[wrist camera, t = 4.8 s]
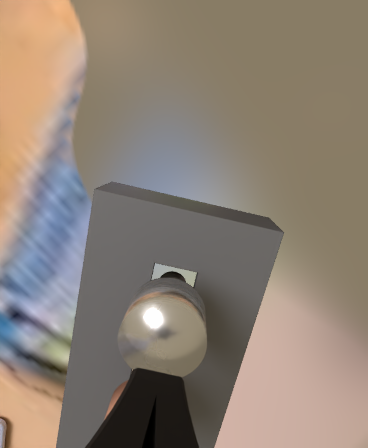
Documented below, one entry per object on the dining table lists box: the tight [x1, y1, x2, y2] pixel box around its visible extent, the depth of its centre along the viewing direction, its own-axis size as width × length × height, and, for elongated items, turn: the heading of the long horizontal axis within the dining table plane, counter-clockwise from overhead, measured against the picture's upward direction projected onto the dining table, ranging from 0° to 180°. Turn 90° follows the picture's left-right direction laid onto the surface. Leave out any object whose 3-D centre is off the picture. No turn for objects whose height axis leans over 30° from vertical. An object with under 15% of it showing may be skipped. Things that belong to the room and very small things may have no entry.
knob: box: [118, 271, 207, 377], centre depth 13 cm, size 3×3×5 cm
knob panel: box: [56, 182, 284, 448], centre depth 18 cm, size 18×9×3 cm, turn 167°
